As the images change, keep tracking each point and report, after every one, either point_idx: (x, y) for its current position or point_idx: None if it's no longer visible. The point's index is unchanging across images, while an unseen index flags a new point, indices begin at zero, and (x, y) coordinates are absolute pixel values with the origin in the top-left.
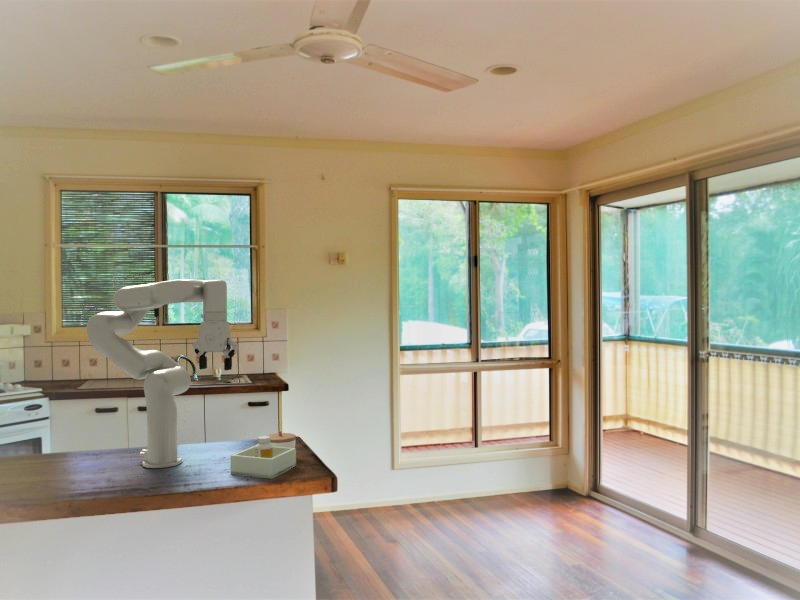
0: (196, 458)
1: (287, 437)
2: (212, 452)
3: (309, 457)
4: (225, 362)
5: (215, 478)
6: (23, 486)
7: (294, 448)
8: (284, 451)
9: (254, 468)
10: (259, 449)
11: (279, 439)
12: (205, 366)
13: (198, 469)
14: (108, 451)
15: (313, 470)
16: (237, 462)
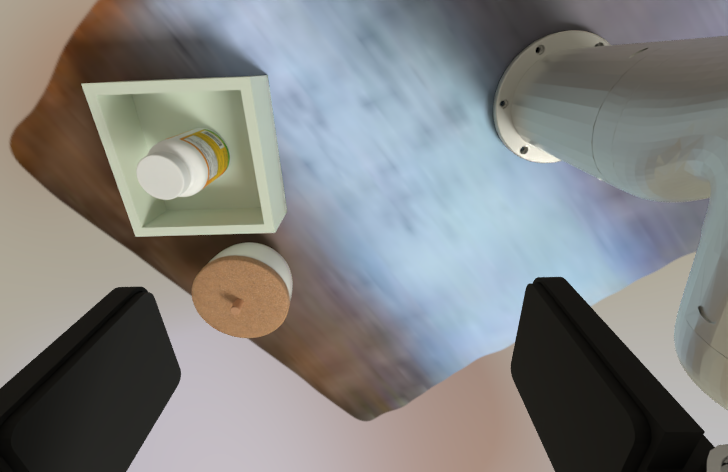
0: (481, 190)
1: (203, 292)
2: (473, 257)
3: None
4: (37, 364)
5: (279, 15)
6: None
7: (137, 233)
8: (173, 222)
9: (170, 79)
10: (171, 138)
11: (208, 266)
12: (522, 368)
13: (399, 87)
14: None
15: (96, 198)
16: (228, 77)
